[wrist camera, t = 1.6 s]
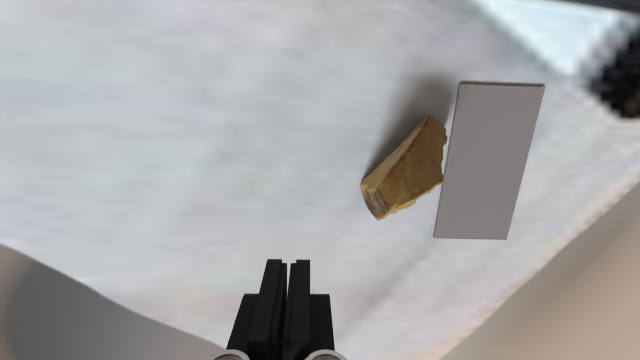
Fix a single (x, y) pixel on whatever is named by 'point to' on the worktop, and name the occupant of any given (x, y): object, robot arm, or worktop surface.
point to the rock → (407, 171)
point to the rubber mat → (486, 160)
